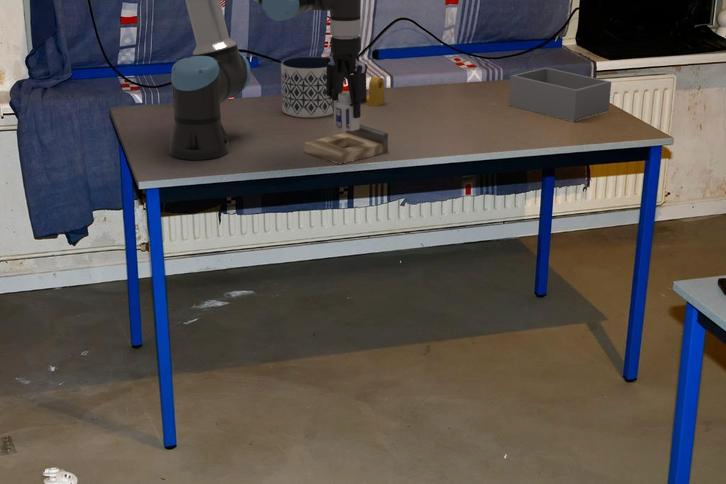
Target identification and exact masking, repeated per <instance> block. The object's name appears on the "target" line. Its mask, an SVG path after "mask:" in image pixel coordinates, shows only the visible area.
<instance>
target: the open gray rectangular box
mask: <svg viewBox="0 0 726 484" xmlns="http://www.w3.org/2000/svg"><path fill="white" fill-rule="evenodd" d="M509 77H510V79H509V80H510V81H509V97H508V99H509V101H508V106H509V107H513V108H516V109H520V110H524V111H528V112H532V111H533V112H532V113H535V112H537V113H536V114H539V113H541V114H540V115H543V114H545V116H547V115H550V116H549V117H551V116H554V117H553V118H555V117H559V118H562V119H561V120H563V119H567V120H571V121H576V120H579V119H582V118H585V117H588V116H592V115H595V114H599V113H602V112H606V111H609V112H610V102H611V92H612V90H611V89H612V81H610V80H609V81H608V80H605V79H600V78H595V77H590V76H586V75H582V74H578V73H573V72H568V71H563V70H560V69H554V68H550V67H541V68H538V69H534V70H529V71H525V72H521V73H516V74H512V75H510V76H509ZM559 118H558V119H559ZM567 120H566V121H567Z"/></svg>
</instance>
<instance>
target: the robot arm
mask: <svg viewBox="0 0 726 484" xmlns="http://www.w3.org/2000/svg"><path fill="white" fill-rule="evenodd" d="M184 1H185V4H186V9H187V12H188V17H189V21H190V25H191V28H192V32H193V35H194V40H195V44H196V46H195V48H194V50H193V52H192V56H190V57H185V58H182V59H179V60H178V61H176V62H175V63H174V64H173V66H172V68H171V78H170V82H171V90H172V92H171V93H172V102H173V119H174V122H173V123H174V124H173V129H172V131H171V135H170V140H169V142H168V143H169V145H168V146H169V148H168V149H169V154H170V156H171V157H174V158H177V159H181V160H190V161H191V160H192V161H200V160H201V161H202V160H211V159H216V158H219V157H223V156H225V155H226V154H228V153H229V152H230V141H229V138H228V137H227V134H226V130H225V128H224V126H223V123H222V118H221V103H223V102H224V101H227V100H228V99H229V100H230V98H231V99H232V98H234V97H236V96H237V95H239V94H240V93H241V92H243V91H244V90H245V88H247V86H248V84H249V83H250V79H251V75H252V74H251V66H250V63H249V60H248V59H247V58H246V56H245V55H244V54H242V53H241V52H240V51H239V48H238V44H237V42H236V41H234V39H232V38H230V36H229V32H228V27H227V24H226V20H225V16H224V12H223V9H222V3H221V0H184ZM253 1H254V2H256V3H258V4H259V5H261V6H262V9H263V11H264V14H265V15H266V16H267V17H268V18H269V19H271V20H272V21H275V22H276V21H277V22H280V21H286V20H291V19H292V18H293V17H296V16H299V15H301V14H303V13H305V12H308V11H323V12H325V11H329V26H330V27H329V34H330V35H331V37H330V52H331V53H333V55H332V56H327V57H326V58H325V63H326V94H327V96H330V97H331V99H332V100H333V112H334V113H333V126H334V127H337V126H336V104H337V103H338V102H339V100H338V94H339V93H342V92H343V90H344V85H345V79H346V80H347V81H346V82H347V87H348V92H349V93H350V98H351V104H349V131H354V130H358V129H359V124H360V118H361V115H362V114H361V105H364V103H366V102H367V95H368V93H367V91H368V90H367V72H368V71H367V70H368V64H366V63H365V64H364V63H362V62H360V58H359V54H360V52H361V51H362V38H361V36H360V35H361V34H362V32H361V31H362V27H361V21H362V20H361V17H362V15H361V13H362V12H361V9H362V5H361V4H362V2H361V1H362V0H253ZM331 90H332V91H331Z"/></svg>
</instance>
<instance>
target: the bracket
mask: <svg viewBox="0 0 726 484" xmlns="http://www.w3.org/2000/svg"><path fill="white" fill-rule="evenodd" d="M344 92H345V91H342V93H344ZM384 104H385V80H384V78H383V77H379V76H372V77H371V78H370V80H369V84H368V94H367V102H366V103H364V104H363V105H365V106H369V107H370V106H371V107H379V106H381V105H382V106H383V105H384Z"/></svg>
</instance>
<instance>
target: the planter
mask: <svg viewBox="0 0 726 484" xmlns="http://www.w3.org/2000/svg"><path fill="white" fill-rule="evenodd" d="M325 58H327V57H325V56H313V55H311V56H310V55H309V56H306V55H305V56H304V55H303V56H295V57H289V58H285V59H283V60H282V61H281V62H280V76H281V77H280V79H281V83H280V84H281V109H282V112H283V113H284V114H286V115H288V116H291V117H295V118H301V119H303V118H306V119H314V118H323V117H328V116H331V115H334V112H333V100H332V99H331V97H330V96H327V94H326V63H325ZM331 91H332V90H331Z"/></svg>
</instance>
